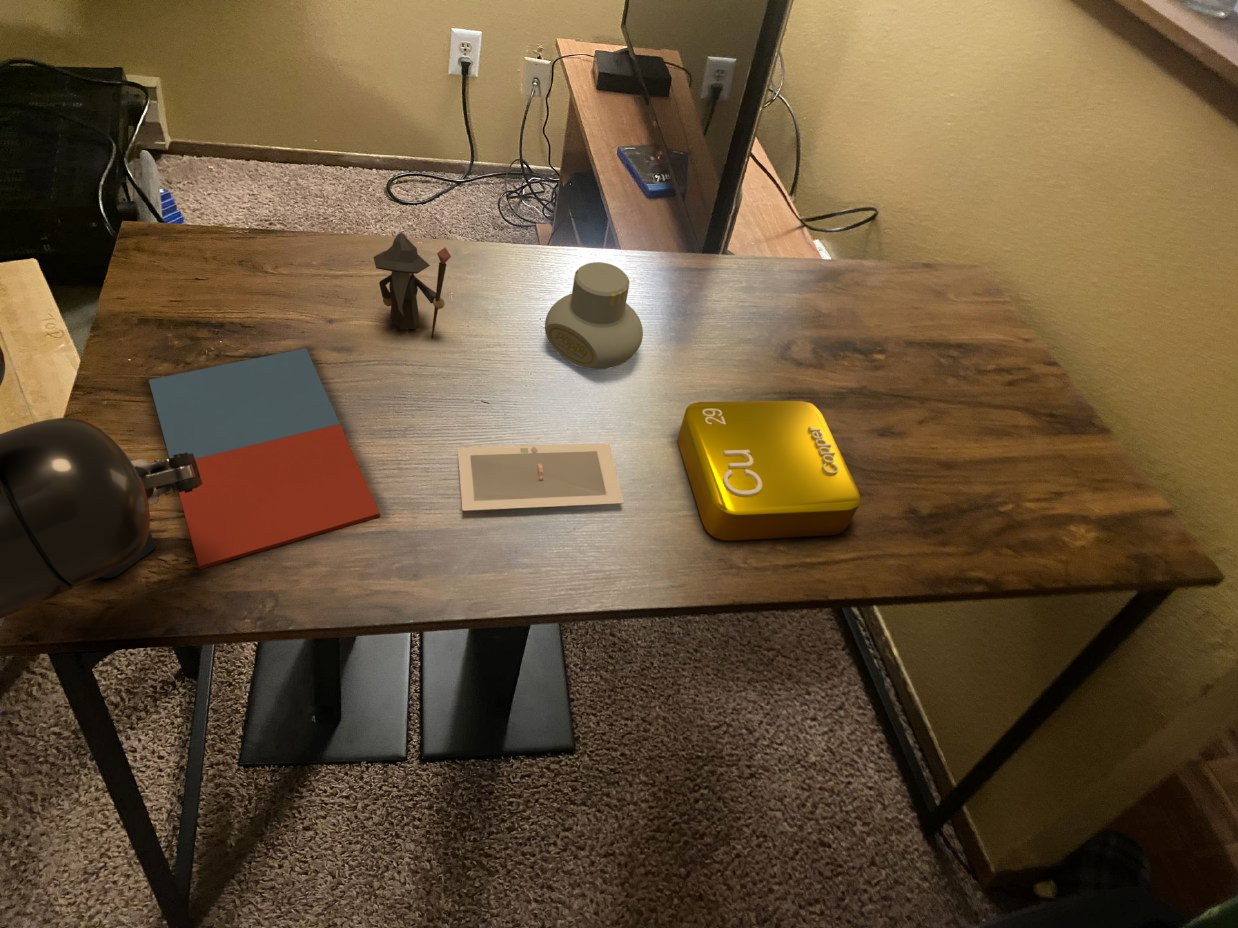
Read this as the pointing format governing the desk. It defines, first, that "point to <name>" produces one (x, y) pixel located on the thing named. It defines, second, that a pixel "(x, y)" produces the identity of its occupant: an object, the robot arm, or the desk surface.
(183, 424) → the sorting mat
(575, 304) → the air freshener
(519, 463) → the touchpad
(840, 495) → the element tile
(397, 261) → the wizard figurine
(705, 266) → the desk surface
